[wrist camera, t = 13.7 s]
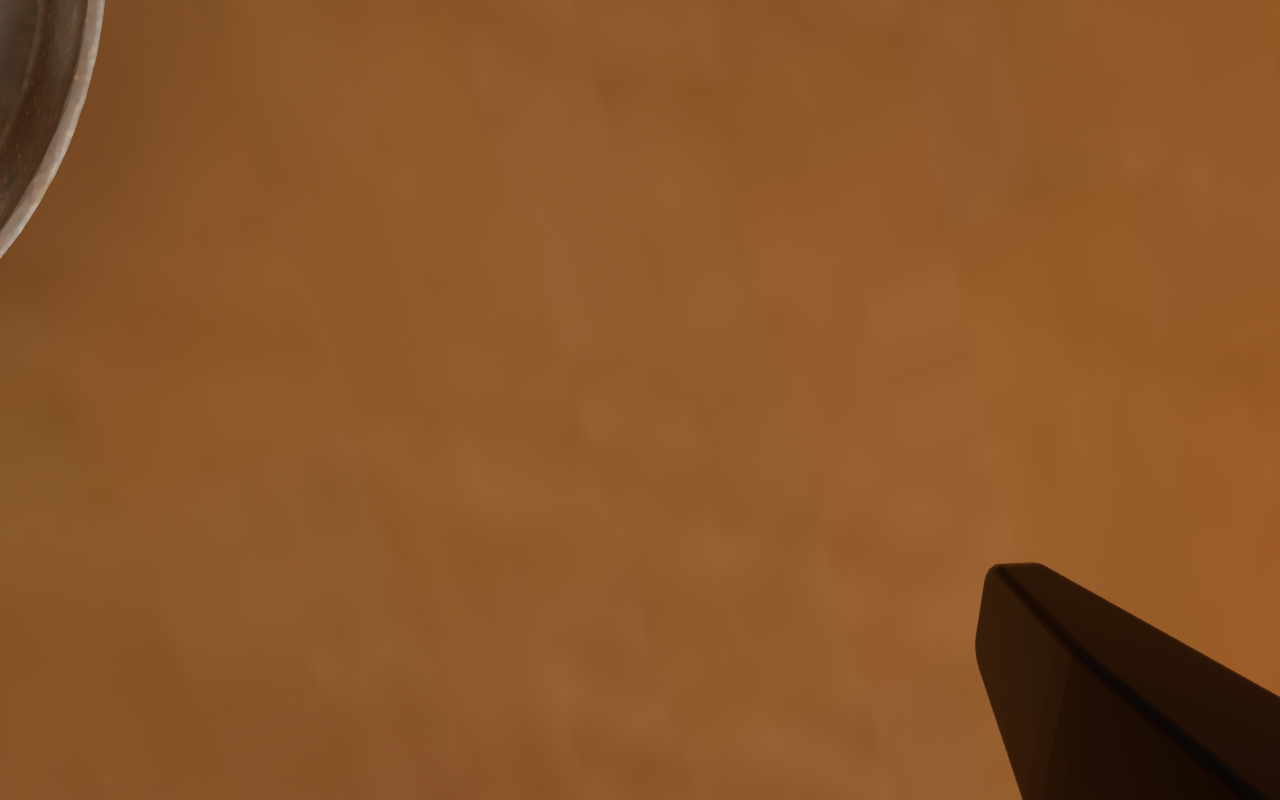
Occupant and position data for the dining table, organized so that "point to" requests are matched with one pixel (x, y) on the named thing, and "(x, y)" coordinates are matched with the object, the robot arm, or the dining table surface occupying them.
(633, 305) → the dining table surface
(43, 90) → the plant saucer
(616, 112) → the dining table surface
